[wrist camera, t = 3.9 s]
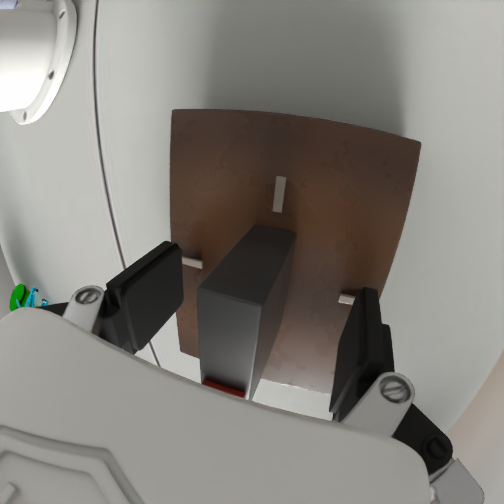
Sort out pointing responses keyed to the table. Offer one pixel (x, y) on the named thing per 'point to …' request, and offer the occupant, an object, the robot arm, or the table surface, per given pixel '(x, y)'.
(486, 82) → the table surface
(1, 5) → the lavender bottle
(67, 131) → the table surface
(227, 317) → the pointer knob
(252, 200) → the dial panel
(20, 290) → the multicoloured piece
